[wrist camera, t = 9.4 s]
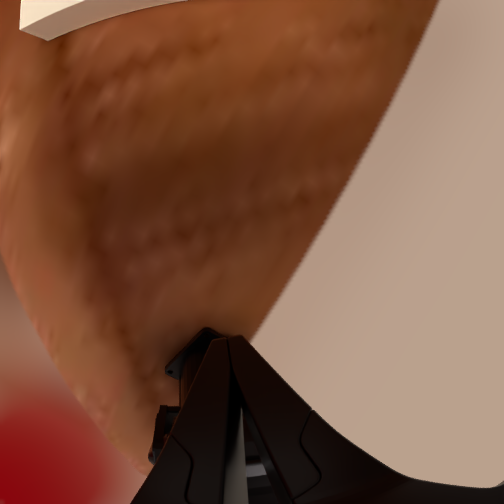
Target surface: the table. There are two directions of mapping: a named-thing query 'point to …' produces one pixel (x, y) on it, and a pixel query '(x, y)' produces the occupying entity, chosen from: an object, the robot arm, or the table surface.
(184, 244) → the table surface
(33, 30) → the switch box
